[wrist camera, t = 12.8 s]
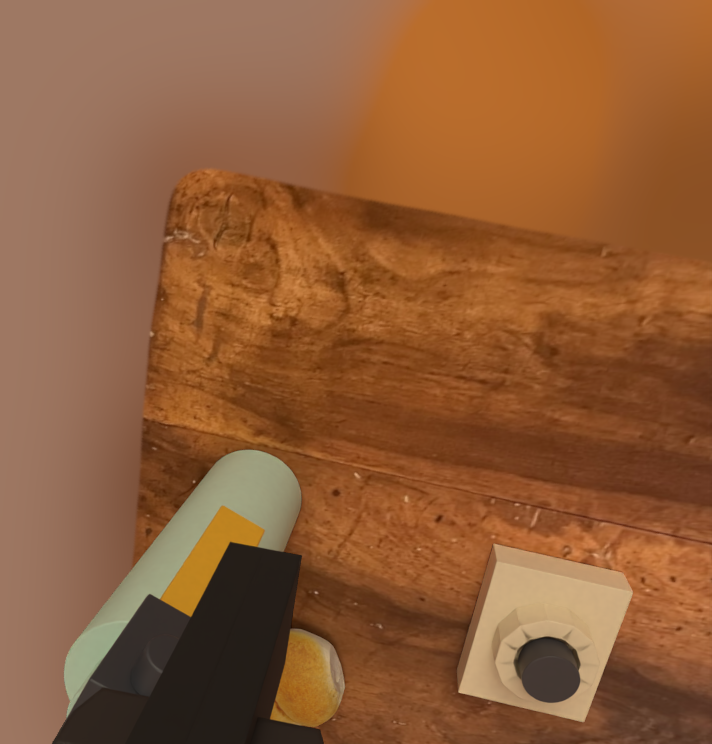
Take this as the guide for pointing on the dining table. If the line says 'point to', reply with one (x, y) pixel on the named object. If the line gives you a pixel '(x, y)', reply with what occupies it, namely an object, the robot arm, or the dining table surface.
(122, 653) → the spray bottle
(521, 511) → the dining table surface
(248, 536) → the strip
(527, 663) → the timer button
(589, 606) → the timer
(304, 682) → the bread roll
